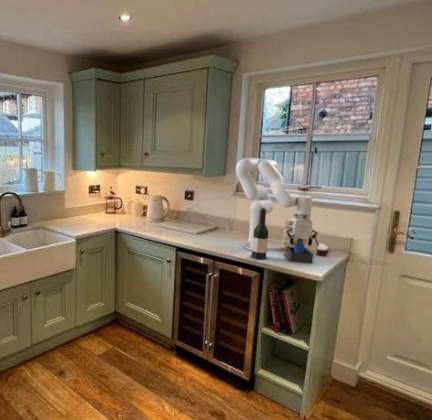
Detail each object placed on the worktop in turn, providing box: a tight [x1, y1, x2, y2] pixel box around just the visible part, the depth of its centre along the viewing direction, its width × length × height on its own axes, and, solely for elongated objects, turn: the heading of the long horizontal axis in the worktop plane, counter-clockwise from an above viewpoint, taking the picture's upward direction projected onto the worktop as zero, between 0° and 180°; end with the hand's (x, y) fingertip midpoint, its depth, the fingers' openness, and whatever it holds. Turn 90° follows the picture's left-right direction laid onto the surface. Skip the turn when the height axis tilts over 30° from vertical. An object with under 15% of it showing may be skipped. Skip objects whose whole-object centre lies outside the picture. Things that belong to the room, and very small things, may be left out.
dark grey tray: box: [284, 247, 314, 264], centre depth 214 cm, size 12×14×5 cm
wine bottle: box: [251, 208, 269, 261], centre depth 213 cm, size 8×8×30 cm
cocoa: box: [314, 236, 331, 256], centre depth 222 cm, size 10×6×12 cm, turn 53°
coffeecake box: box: [281, 218, 308, 250], centre depth 234 cm, size 15×7×20 cm, turn 115°
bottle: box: [294, 238, 305, 253], centre depth 214 cm, size 5×5×12 cm
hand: (300, 245), depth 213 cm, fingers open, 9 cm apart
